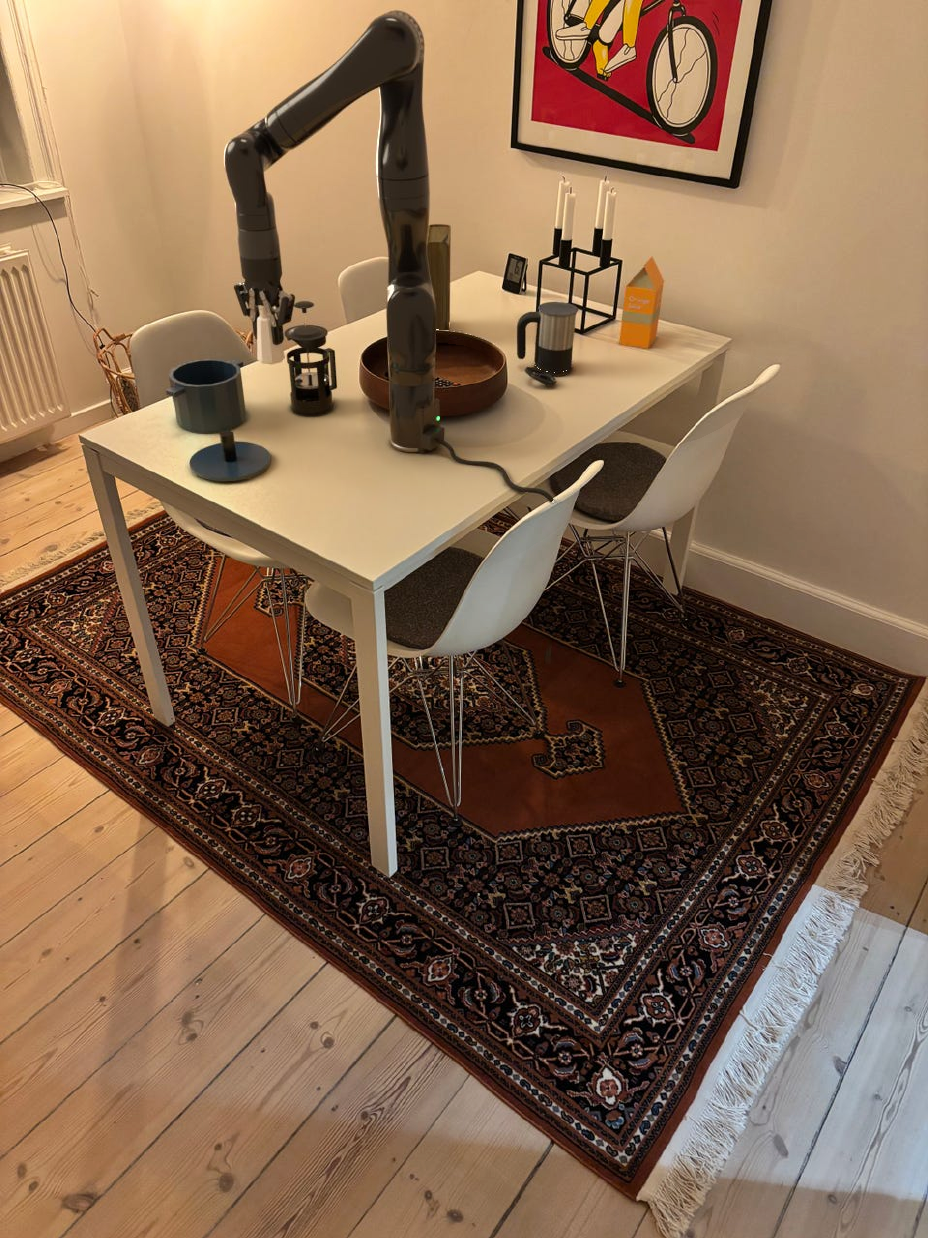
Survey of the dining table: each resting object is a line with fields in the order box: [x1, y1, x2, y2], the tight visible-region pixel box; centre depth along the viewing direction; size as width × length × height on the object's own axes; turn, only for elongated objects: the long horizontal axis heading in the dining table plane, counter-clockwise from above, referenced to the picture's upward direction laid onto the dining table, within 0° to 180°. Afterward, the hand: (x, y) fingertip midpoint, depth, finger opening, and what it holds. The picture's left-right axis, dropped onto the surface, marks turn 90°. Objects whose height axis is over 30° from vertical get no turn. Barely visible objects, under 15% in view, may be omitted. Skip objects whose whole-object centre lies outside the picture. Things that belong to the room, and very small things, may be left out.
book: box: [427, 223, 452, 331], centre depth 241 cm, size 16×6×25 cm, turn 179°
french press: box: [283, 300, 338, 417], centre depth 205 cm, size 12×9×23 cm
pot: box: [165, 358, 247, 434], centre depth 203 cm, size 14×20×10 cm
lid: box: [189, 430, 272, 482], centre depth 188 cm, size 16×16×7 cm
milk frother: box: [516, 301, 579, 387], centre depth 224 cm, size 14×16×15 cm
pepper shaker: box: [256, 305, 286, 365], centre depth 188 cm, size 5×5×11 cm
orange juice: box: [618, 256, 665, 349], centre depth 241 cm, size 8×9×20 cm
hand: (269, 340), depth 190 cm, fingers closed on pepper shaker, 4 cm apart
